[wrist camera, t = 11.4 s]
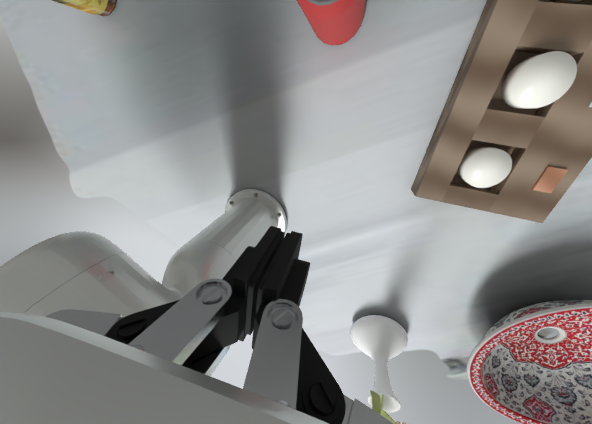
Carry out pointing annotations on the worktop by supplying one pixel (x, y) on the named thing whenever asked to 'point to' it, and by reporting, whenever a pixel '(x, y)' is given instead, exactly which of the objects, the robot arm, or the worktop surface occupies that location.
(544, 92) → the middle button
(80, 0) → the sauce bottle
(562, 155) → the button board
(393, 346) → the flower in vase
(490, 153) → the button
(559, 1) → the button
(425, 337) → the worktop surface
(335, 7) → the beer can
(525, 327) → the ceramic bowl
